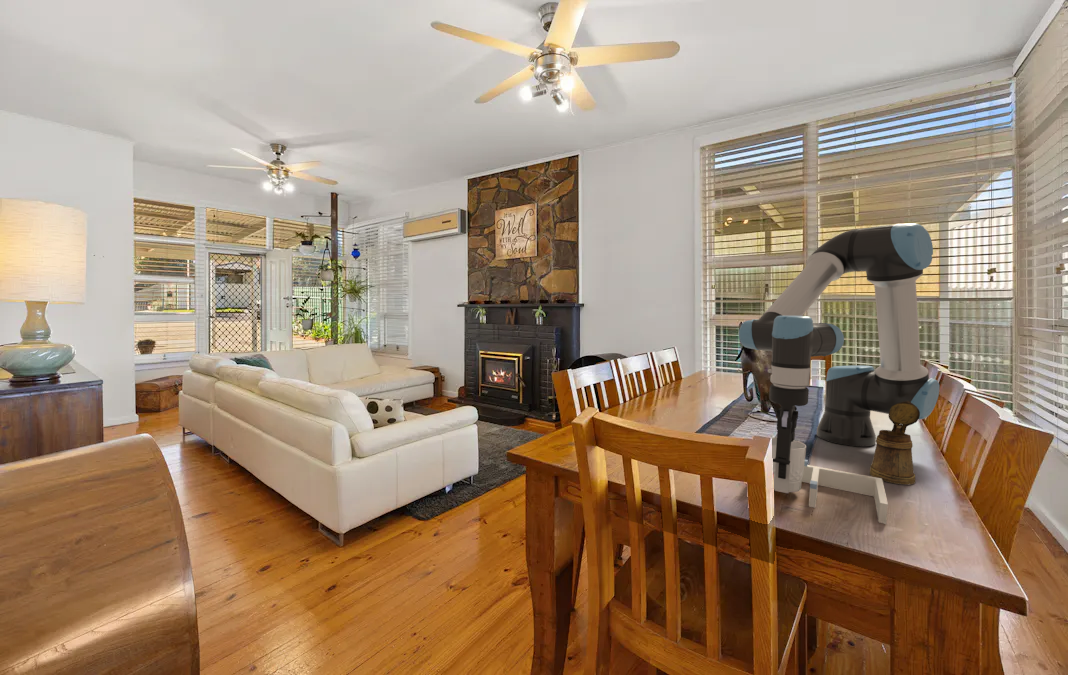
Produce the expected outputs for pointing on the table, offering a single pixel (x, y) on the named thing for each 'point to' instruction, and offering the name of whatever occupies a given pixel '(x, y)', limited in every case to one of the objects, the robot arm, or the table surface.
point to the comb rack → (846, 486)
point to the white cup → (793, 463)
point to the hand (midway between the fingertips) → (783, 484)
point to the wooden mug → (896, 447)
